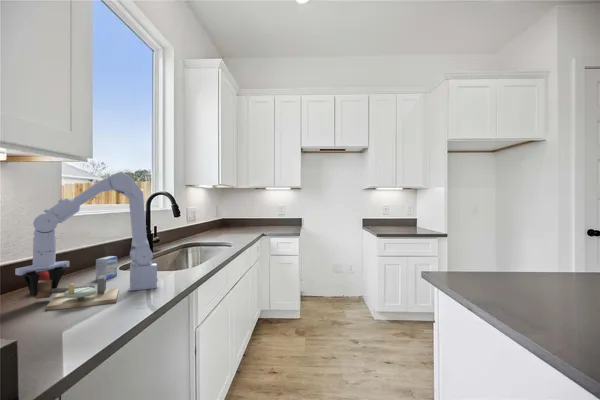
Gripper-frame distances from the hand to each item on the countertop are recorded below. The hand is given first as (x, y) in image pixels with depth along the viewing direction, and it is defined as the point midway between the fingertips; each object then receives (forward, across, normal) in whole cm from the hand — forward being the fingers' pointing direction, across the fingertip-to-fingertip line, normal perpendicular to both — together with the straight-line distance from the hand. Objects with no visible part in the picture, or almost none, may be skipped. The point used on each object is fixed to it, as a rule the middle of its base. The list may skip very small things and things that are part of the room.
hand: (43, 293), depth 101 cm
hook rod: (+1, +5, -4) cm, 6 cm away
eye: (+2, +12, -11) cm, 16 cm away
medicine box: (+3, +30, +12) cm, 33 cm away
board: (+3, +6, -11) cm, 13 cm away
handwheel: (+1, +3, -13) cm, 13 cm away
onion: (+3, +7, +12) cm, 15 cm away
